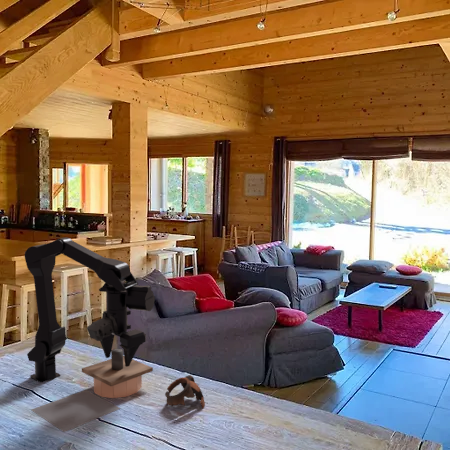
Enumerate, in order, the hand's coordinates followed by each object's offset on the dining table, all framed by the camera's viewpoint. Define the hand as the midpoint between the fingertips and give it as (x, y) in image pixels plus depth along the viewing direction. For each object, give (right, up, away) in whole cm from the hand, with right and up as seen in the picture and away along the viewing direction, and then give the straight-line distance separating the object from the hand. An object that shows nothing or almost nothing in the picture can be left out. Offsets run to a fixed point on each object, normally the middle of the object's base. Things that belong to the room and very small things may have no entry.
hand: (117, 361), depth 136 cm
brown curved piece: (+20, -9, -8) cm, 24 cm away
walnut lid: (0, -3, 0) cm, 3 cm away
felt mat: (-8, -9, -12) cm, 17 cm away
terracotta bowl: (0, -8, +1) cm, 8 cm away
